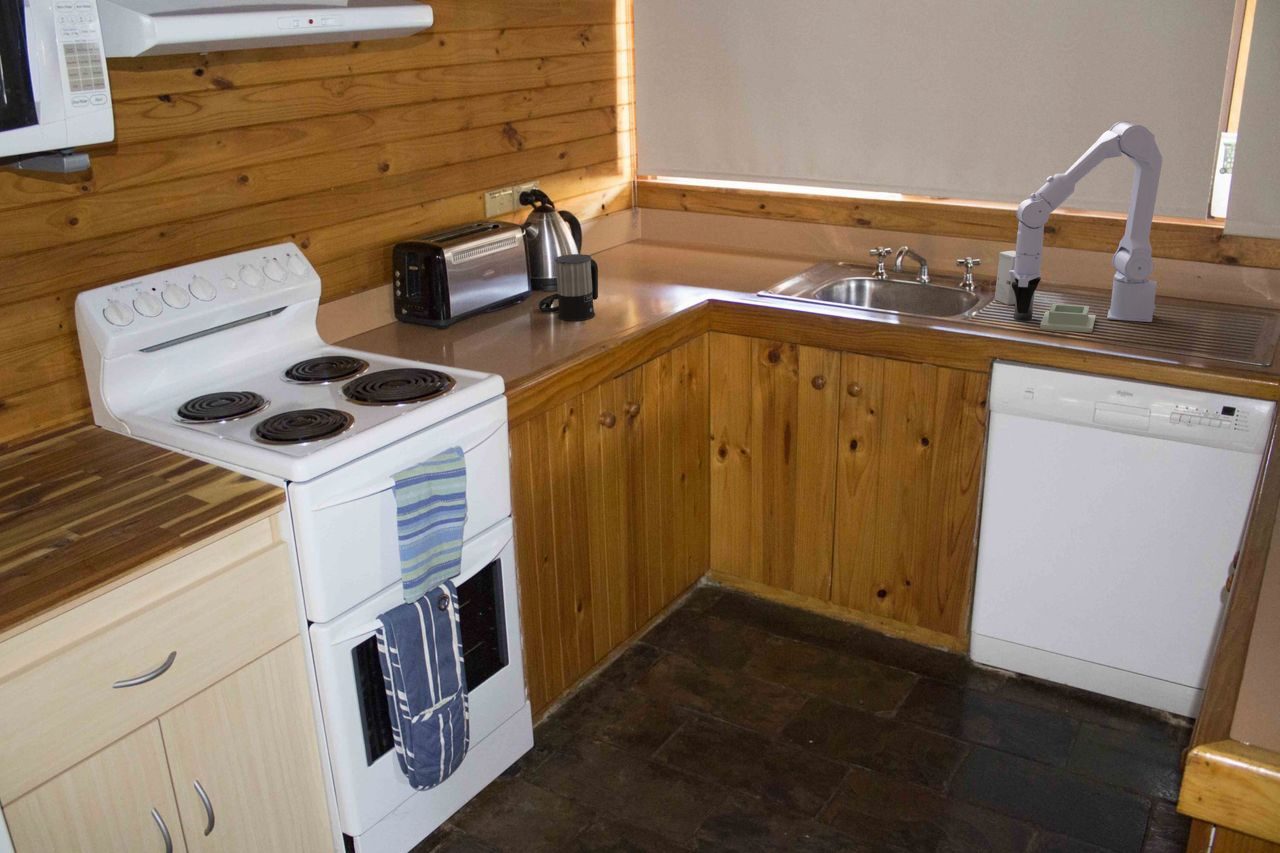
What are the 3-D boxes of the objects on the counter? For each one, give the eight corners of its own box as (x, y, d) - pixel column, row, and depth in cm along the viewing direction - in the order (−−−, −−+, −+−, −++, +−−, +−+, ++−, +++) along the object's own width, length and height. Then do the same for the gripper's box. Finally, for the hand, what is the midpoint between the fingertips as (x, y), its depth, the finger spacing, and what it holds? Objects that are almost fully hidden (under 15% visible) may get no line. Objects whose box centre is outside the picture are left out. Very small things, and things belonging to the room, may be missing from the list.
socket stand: (1095, 319, 261) (1096, 304, 260) (1091, 332, 251) (1093, 317, 250) (1045, 315, 265) (1046, 301, 264) (1039, 328, 255) (1041, 313, 254)
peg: (1033, 317, 265) (1035, 287, 262) (1031, 321, 261) (1033, 291, 259) (1015, 315, 266) (1017, 286, 264) (1013, 320, 263) (1015, 290, 260)
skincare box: (993, 299, 281) (997, 251, 276) (1009, 298, 282) (1013, 249, 278) (1008, 305, 275) (1012, 256, 271) (1024, 303, 276) (1028, 254, 272)
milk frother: (589, 322, 274) (586, 262, 269) (527, 320, 277) (523, 261, 272) (603, 307, 287) (600, 249, 282) (544, 306, 290) (540, 249, 285)
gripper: (1014, 245, 266) (1009, 301, 271) (1006, 258, 254) (1001, 316, 258) (1046, 247, 263) (1040, 303, 268) (1039, 260, 251) (1034, 319, 256)
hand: (1023, 310), depth 263 cm, fingers closed on peg, 4 cm apart
